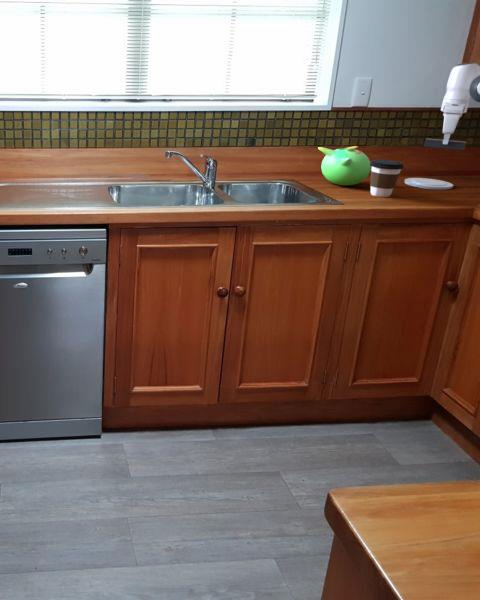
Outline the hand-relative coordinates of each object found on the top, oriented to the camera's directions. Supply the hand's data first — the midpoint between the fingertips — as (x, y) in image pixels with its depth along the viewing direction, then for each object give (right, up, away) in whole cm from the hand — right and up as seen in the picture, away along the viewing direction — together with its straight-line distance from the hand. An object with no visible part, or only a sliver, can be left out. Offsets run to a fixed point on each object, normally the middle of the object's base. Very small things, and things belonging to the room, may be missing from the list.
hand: (445, 143), depth 241 cm
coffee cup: (-36, -25, -21) cm, 49 cm away
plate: (-8, -17, -2) cm, 19 cm away
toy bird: (-44, -18, -6) cm, 48 cm away
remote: (0, -2, +1) cm, 2 cm away
